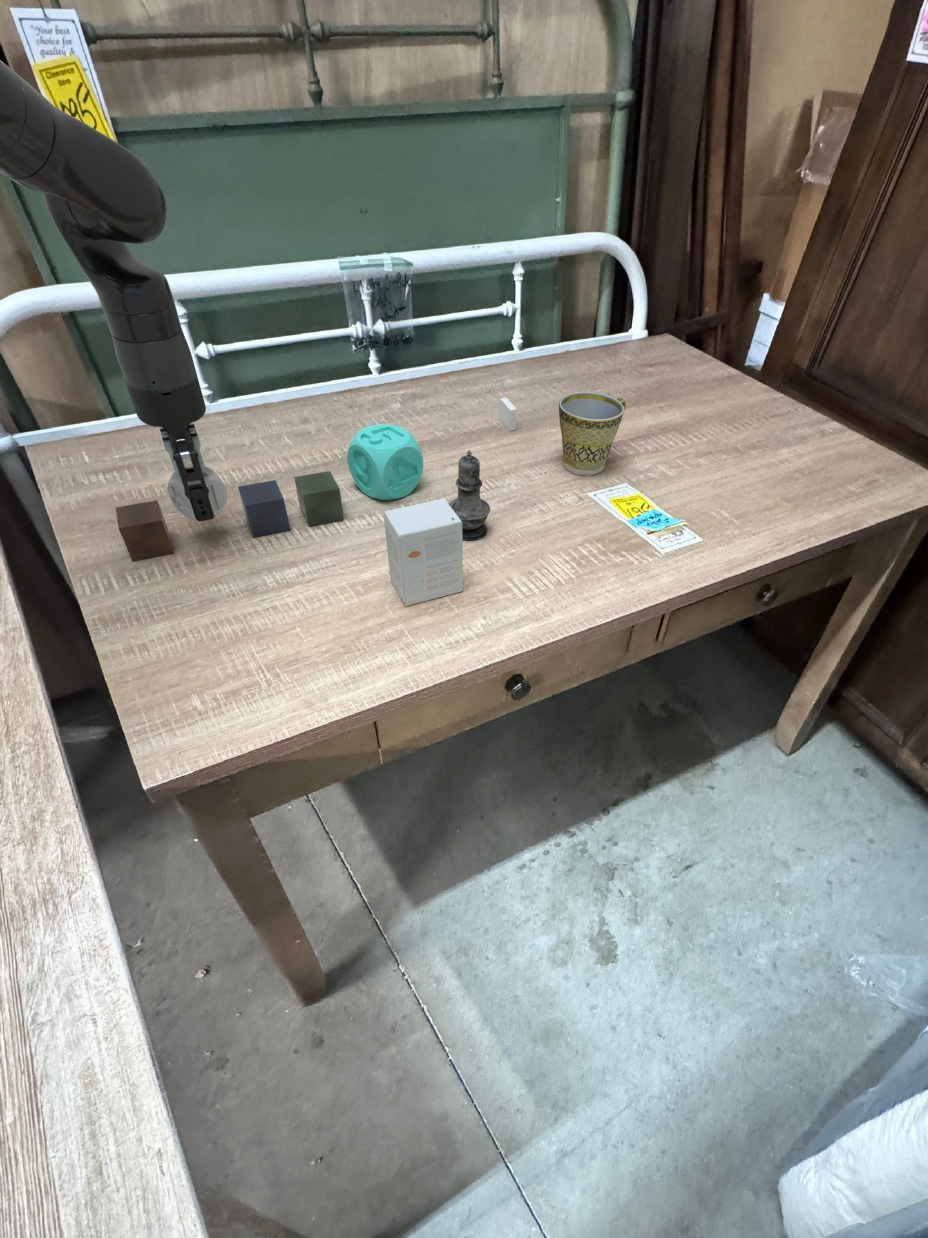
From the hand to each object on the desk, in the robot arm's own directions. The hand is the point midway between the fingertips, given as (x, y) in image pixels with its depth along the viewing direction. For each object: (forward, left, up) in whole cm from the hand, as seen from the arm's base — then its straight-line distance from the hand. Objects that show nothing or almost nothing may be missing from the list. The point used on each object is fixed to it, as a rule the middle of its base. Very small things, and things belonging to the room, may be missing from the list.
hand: (201, 503), depth 89 cm
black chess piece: (+33, -11, -5) cm, 35 cm away
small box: (+23, -21, -5) cm, 32 cm away
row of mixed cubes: (+4, 0, -5) cm, 6 cm away
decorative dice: (+26, +4, -5) cm, 27 cm away
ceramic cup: (+59, 0, -5) cm, 59 cm away
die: (0, 0, -1) cm, 1 cm away
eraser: (+52, +17, -5) cm, 55 cm away
